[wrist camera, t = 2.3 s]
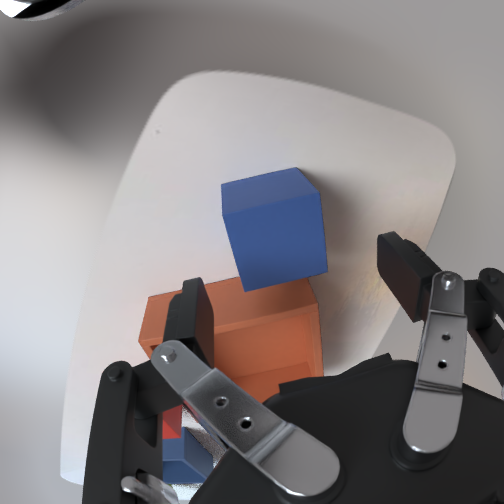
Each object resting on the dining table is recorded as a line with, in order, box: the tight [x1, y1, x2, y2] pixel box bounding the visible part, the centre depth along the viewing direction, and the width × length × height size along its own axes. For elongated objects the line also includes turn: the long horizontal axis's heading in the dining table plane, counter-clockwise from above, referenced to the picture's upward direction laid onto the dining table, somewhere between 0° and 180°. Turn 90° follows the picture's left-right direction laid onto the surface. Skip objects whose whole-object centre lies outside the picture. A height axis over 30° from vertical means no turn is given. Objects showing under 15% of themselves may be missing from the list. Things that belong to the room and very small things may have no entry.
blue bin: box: [163, 427, 214, 484], centre depth 33 cm, size 11×11×4 cm
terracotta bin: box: [138, 277, 324, 423], centre depth 22 cm, size 11×11×4 cm
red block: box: [163, 405, 182, 439], centre depth 25 cm, size 5×5×5 cm
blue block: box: [221, 167, 328, 292], centre depth 17 cm, size 5×5×5 cm
